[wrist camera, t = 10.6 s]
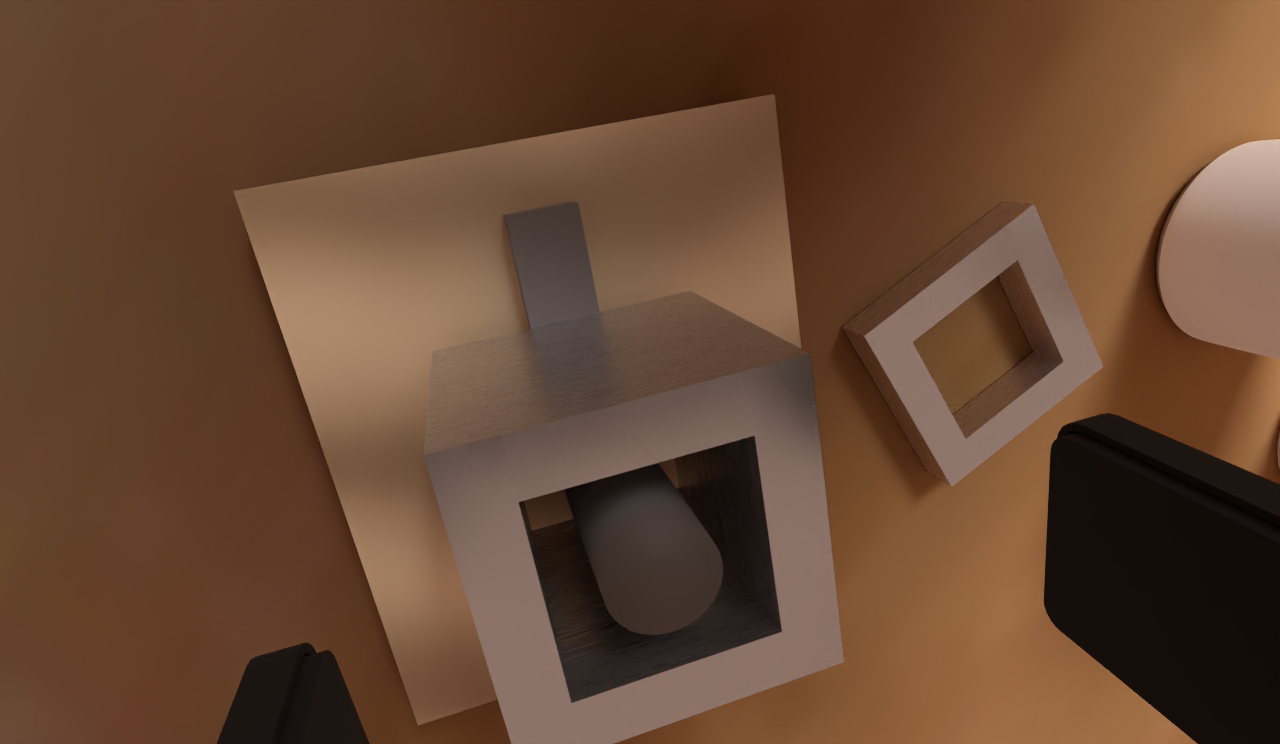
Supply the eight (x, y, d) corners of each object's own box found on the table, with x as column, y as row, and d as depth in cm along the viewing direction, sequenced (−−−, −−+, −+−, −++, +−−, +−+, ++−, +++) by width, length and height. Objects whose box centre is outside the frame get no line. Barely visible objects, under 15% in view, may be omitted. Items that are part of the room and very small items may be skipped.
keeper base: (251, 188, 16) (59, 213, 8) (749, 99, 18) (981, 48, 10) (419, 687, 20) (401, 1018, 12) (803, 565, 23) (994, 782, 15)
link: (432, 351, 16) (423, 455, 10) (689, 290, 17) (810, 353, 11) (497, 582, 18) (520, 776, 12) (725, 513, 19) (844, 662, 13)
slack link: (841, 326, 21) (864, 336, 20) (1002, 201, 21) (1033, 203, 20) (927, 471, 23) (951, 487, 22) (1071, 356, 23) (1103, 366, 22)
